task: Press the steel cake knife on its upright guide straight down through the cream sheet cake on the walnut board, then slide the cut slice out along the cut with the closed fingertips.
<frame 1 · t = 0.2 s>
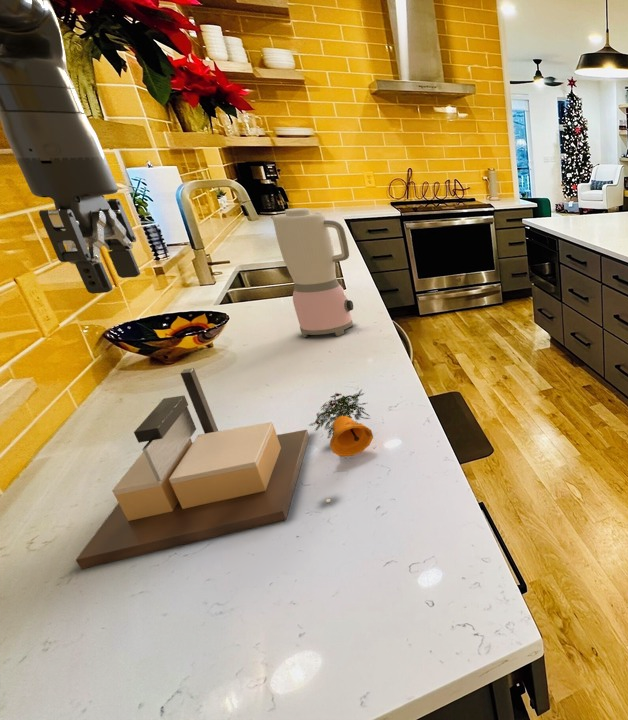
hand: (116, 284, 67), 30 cm above the countertop, tool pointing down, fingers open, 8 cm apart
knife: (169, 433, 69), point 10 cm above the countertop, slide at 0.0 cm
board: (216, 490, 74), on the countertop
cake: (236, 475, 75), resting on board
christmas decoration: (352, 459, 81), on the countertop
blender: (335, 331, 136), on the countertop
slice: (167, 490, 72), point 1 cm above the countertop, touching board
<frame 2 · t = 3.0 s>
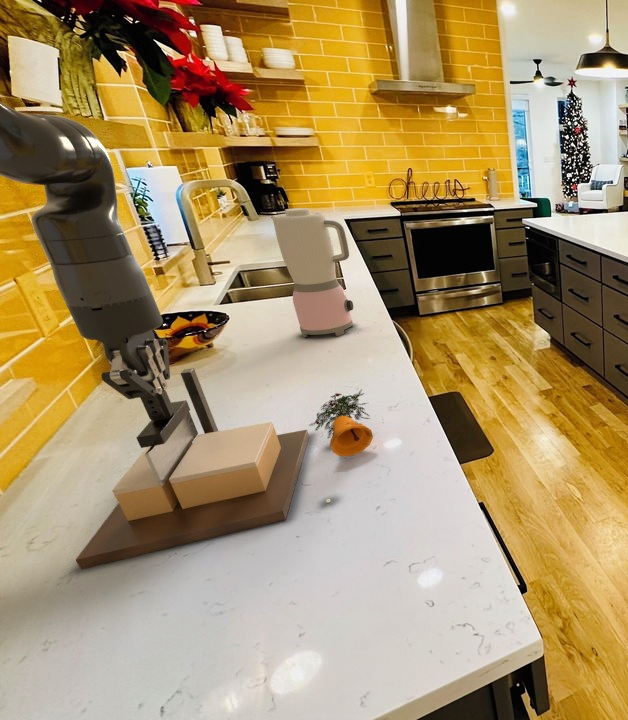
hand: (163, 417, 68), 13 cm above the countertop, tool pointing down, fingers closed
knife: (171, 438, 69), point 9 cm above the countertop, slide at -0.8 cm, touching gripper
everything else where it was.
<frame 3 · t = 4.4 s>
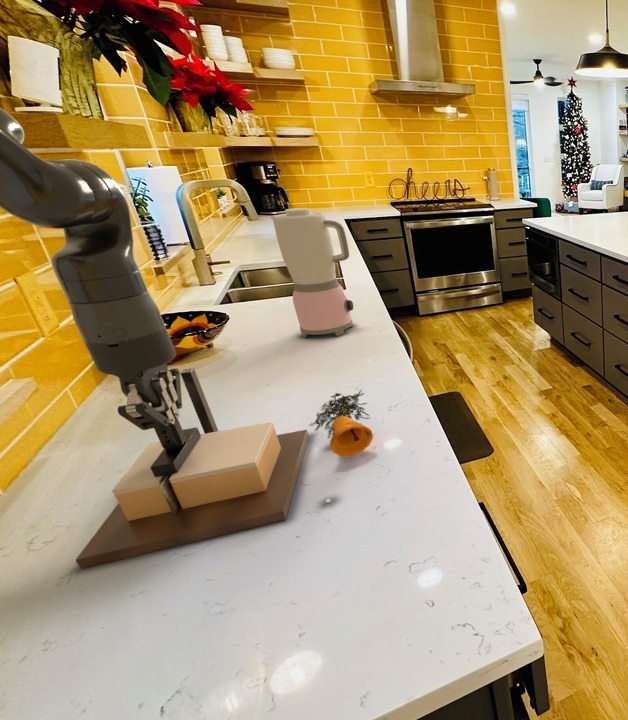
hand: (175, 445, 70), 8 cm above the countertop, tool pointing down, fingers closed
knife: (183, 465, 71), point 5 cm above the countertop, slide at -5.4 cm, touching gripper
everything else where it was.
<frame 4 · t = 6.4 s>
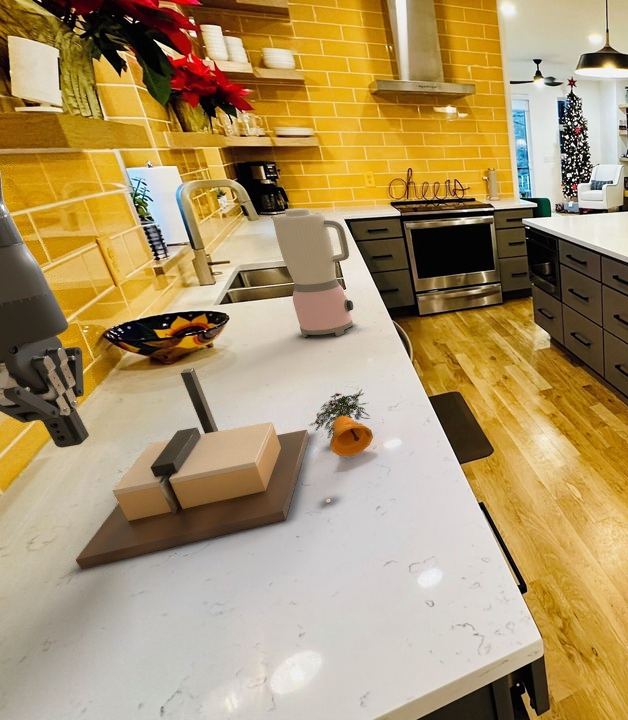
hand: (74, 442, 56), 16 cm above the countertop, tool pointing down, fingers closed
knife: (183, 465, 71), point 5 cm above the countertop, slide at -5.4 cm
everything else where it was.
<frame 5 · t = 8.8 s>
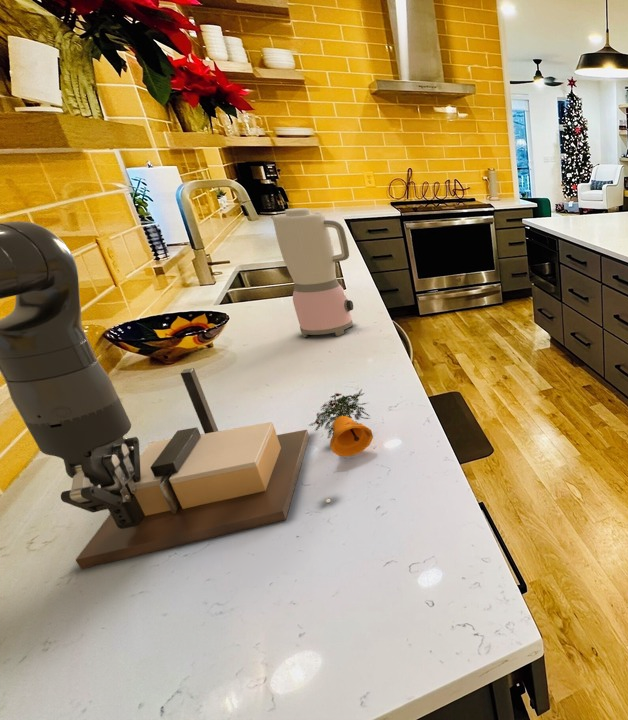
hand: (132, 523, 64), 3 cm above the countertop, tool pointing down, fingers closed
slice: (168, 488, 72), point 2 cm above the countertop, touching gripper
everything else where it was.
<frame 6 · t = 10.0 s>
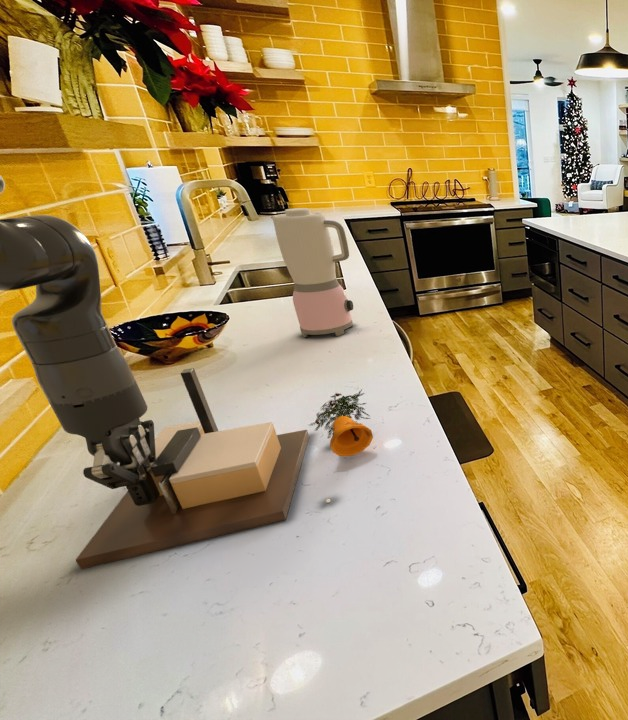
hand: (148, 501, 68), 3 cm above the countertop, tool pointing down, fingers closed
slice: (181, 471, 76), point 1 cm above the countertop, touching board, gripper
everything else where it was.
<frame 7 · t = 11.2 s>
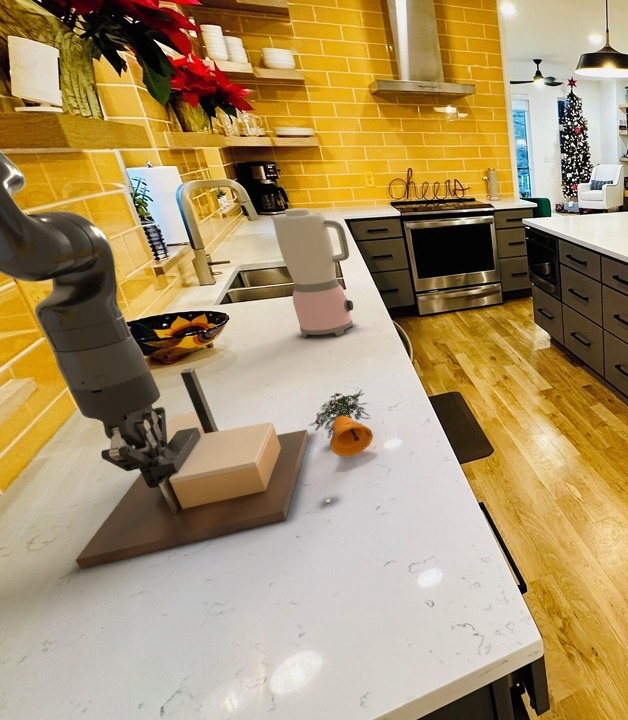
hand: (160, 484, 71), 3 cm above the countertop, tool pointing down, fingers closed
slice: (190, 457, 79), point 1 cm above the countertop, touching board, gripper
everything else where it was.
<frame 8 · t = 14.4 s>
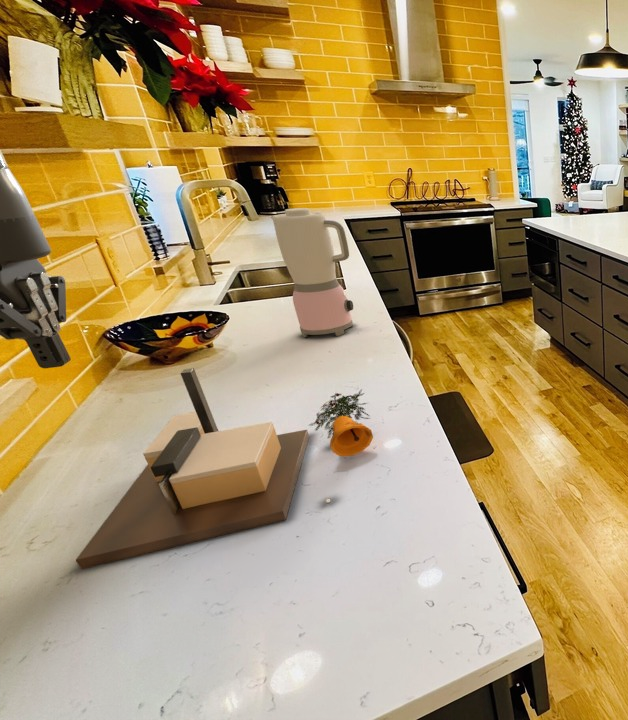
hand: (56, 365, 59), 23 cm above the countertop, tool pointing down, fingers closed
slice: (190, 456, 79), point 1 cm above the countertop, touching board
everything else where it was.
at the end: knife slide at -5.4 cm; slice moved 8.9 cm from its start; slice tilted 0° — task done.
